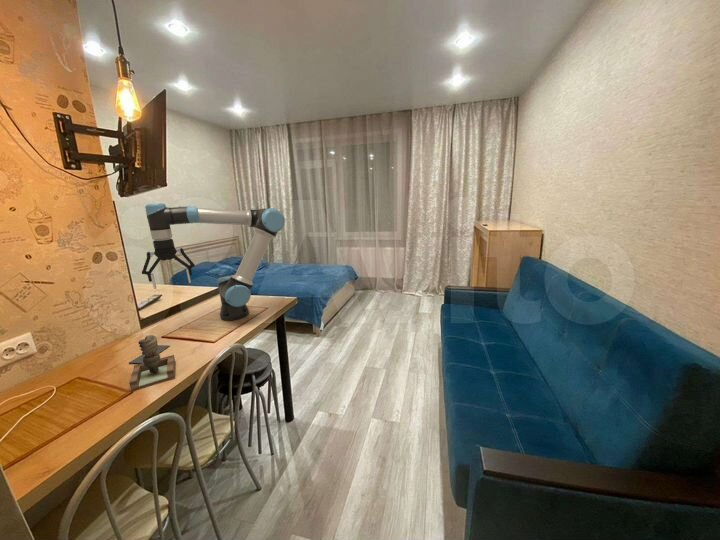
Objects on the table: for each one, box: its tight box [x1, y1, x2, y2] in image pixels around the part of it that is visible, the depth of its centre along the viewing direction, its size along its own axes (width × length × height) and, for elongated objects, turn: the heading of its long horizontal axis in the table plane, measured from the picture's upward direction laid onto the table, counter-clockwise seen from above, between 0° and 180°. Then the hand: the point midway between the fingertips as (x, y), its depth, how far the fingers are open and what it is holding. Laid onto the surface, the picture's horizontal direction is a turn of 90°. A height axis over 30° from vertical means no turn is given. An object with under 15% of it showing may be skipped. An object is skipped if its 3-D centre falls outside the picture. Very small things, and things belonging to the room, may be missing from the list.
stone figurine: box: [138, 335, 161, 373], centre depth 107 cm, size 6×6×15 cm
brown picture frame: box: [128, 354, 177, 392], centre depth 109 cm, size 13×13×4 cm
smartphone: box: [128, 344, 171, 365], centre depth 125 cm, size 7×1×15 cm
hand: (173, 285), depth 133 cm, fingers open, 13 cm apart
